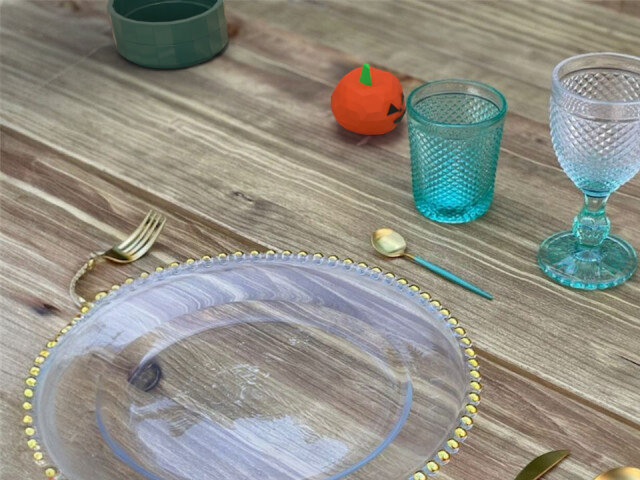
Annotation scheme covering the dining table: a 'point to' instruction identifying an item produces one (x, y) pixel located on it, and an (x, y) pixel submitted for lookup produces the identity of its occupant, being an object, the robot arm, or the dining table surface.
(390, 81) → the pumpkin
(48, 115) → the dining table surface
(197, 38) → the bowl
